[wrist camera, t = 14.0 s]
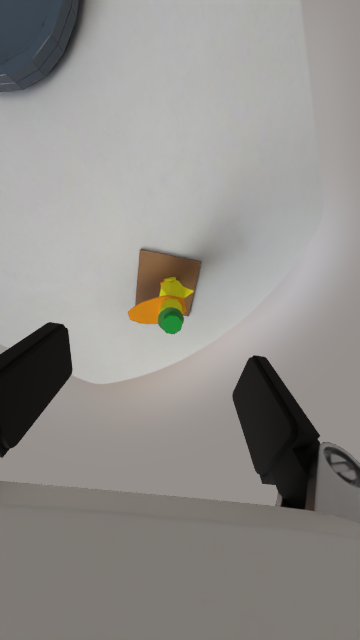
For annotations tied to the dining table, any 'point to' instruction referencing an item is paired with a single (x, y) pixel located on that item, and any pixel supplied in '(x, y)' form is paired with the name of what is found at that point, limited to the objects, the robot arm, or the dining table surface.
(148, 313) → the toy figure
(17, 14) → the plate
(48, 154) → the dining table surface
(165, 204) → the dining table surface
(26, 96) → the dining table surface
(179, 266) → the coaster
